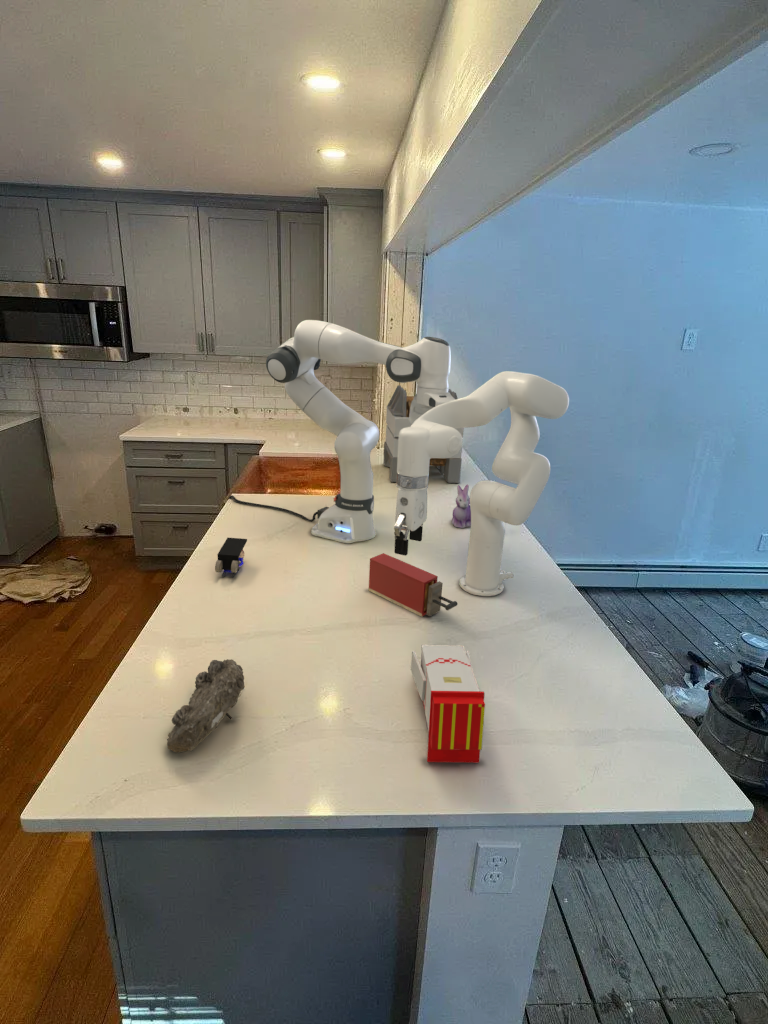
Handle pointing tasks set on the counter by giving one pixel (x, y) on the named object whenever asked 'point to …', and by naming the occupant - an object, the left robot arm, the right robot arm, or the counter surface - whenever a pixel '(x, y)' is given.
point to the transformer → (400, 419)
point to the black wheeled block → (230, 556)
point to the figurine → (462, 508)
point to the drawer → (435, 598)
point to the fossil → (206, 705)
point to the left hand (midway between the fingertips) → (428, 445)
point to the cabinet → (399, 582)
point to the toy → (450, 703)
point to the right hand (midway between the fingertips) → (408, 546)
